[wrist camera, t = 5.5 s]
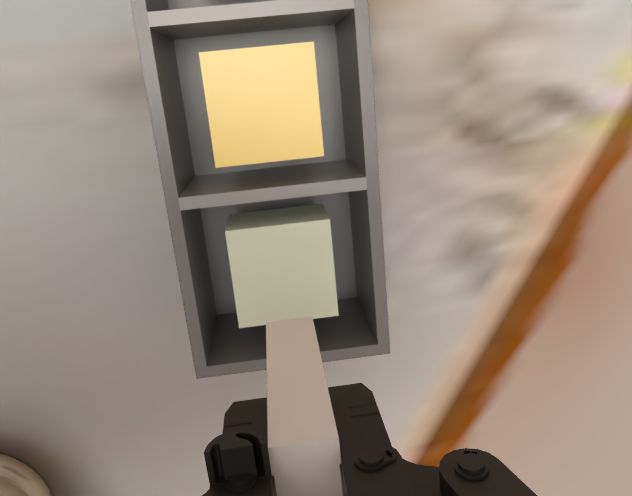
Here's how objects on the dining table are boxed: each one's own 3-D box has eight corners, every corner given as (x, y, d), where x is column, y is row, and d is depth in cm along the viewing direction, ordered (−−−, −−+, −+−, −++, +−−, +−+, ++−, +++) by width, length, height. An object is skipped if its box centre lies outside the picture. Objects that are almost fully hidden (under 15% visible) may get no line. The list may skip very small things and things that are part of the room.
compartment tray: (208, 323, 35) (196, 378, 29) (97, -363, 25) (39, -520, 19) (366, 304, 36) (390, 353, 29) (315, -374, 26) (333, -530, 19)
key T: (221, 157, 29) (215, 167, 26) (206, 56, 28) (198, 52, 24) (316, 147, 29) (324, 156, 26) (307, 47, 28) (313, 41, 24)
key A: (241, 300, 31) (239, 328, 28) (229, 214, 30) (224, 231, 26) (330, 290, 32) (338, 315, 28) (321, 203, 30) (329, 219, 27)
